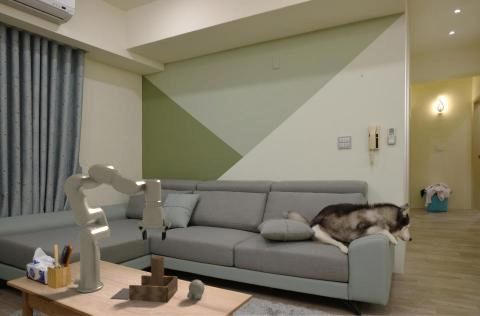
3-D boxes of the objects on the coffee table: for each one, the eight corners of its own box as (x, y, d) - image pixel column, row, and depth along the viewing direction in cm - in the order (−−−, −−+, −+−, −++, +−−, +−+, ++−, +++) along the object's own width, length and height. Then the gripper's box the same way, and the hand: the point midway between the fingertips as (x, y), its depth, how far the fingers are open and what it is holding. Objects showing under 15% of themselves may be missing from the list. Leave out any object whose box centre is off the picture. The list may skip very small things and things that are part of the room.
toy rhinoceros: (208, 300, 157) (211, 281, 160) (197, 300, 147) (201, 280, 150) (195, 297, 160) (198, 279, 163) (184, 297, 149) (187, 278, 152)
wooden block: (150, 299, 152) (150, 261, 152) (143, 297, 155) (143, 260, 155) (164, 293, 160) (164, 256, 160) (157, 291, 162) (157, 255, 162)
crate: (129, 300, 152) (129, 285, 152) (142, 288, 166) (142, 275, 166) (167, 302, 149) (167, 287, 149) (177, 290, 163) (177, 276, 163)
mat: (110, 298, 154) (110, 298, 154) (123, 288, 166) (123, 288, 166) (128, 299, 153) (128, 298, 153) (139, 289, 165) (139, 288, 165)
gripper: (133, 205, 155) (134, 241, 155) (167, 205, 153) (168, 241, 153) (140, 203, 163) (141, 237, 162) (173, 203, 160) (173, 238, 160)
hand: (154, 239), depth 157 cm, fingers open, 9 cm apart
